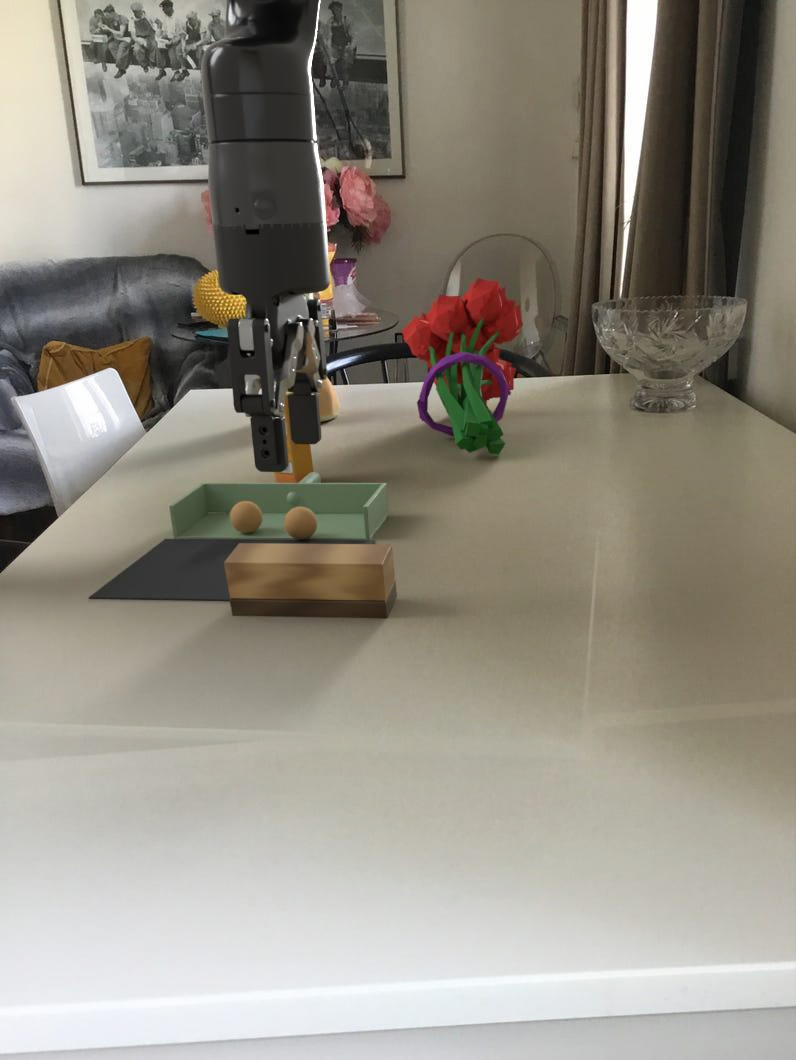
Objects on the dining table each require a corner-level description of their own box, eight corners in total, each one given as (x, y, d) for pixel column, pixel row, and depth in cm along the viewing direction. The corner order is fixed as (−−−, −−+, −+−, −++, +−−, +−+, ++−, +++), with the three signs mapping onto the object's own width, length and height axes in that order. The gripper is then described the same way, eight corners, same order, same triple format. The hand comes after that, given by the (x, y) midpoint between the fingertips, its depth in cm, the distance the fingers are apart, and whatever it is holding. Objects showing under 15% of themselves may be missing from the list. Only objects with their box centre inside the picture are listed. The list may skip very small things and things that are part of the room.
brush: (232, 617, 80) (222, 563, 78) (248, 594, 83) (239, 541, 81) (387, 620, 78) (381, 565, 76) (397, 596, 82) (392, 543, 80)
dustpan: (369, 541, 96) (367, 506, 95) (174, 539, 99) (168, 505, 97) (403, 494, 111) (401, 463, 110) (232, 494, 114) (228, 463, 112)
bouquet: (419, 511, 127) (405, 412, 152) (554, 502, 129) (518, 406, 153) (412, 353, 116) (398, 273, 140) (560, 345, 117) (520, 268, 142)
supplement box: (291, 477, 119) (281, 388, 115) (315, 480, 118) (306, 390, 114) (272, 484, 117) (261, 393, 113) (296, 487, 115) (286, 395, 111)
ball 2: (285, 500, 96) (292, 525, 99) (277, 520, 94) (284, 546, 96) (317, 500, 96) (323, 526, 98) (309, 520, 94) (316, 546, 96)
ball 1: (235, 532, 100) (227, 535, 97) (232, 500, 100) (224, 503, 97) (266, 530, 100) (259, 534, 97) (264, 499, 100) (257, 501, 97)
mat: (89, 600, 84) (88, 597, 84) (165, 541, 98) (165, 538, 98) (332, 604, 82) (331, 601, 82) (375, 543, 96) (375, 540, 96)
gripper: (250, 216, 78) (271, 435, 84) (174, 221, 65) (205, 480, 71) (349, 214, 77) (363, 436, 83) (292, 219, 64) (313, 482, 70)
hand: (290, 456), depth 77 cm, fingers open, 8 cm apart
